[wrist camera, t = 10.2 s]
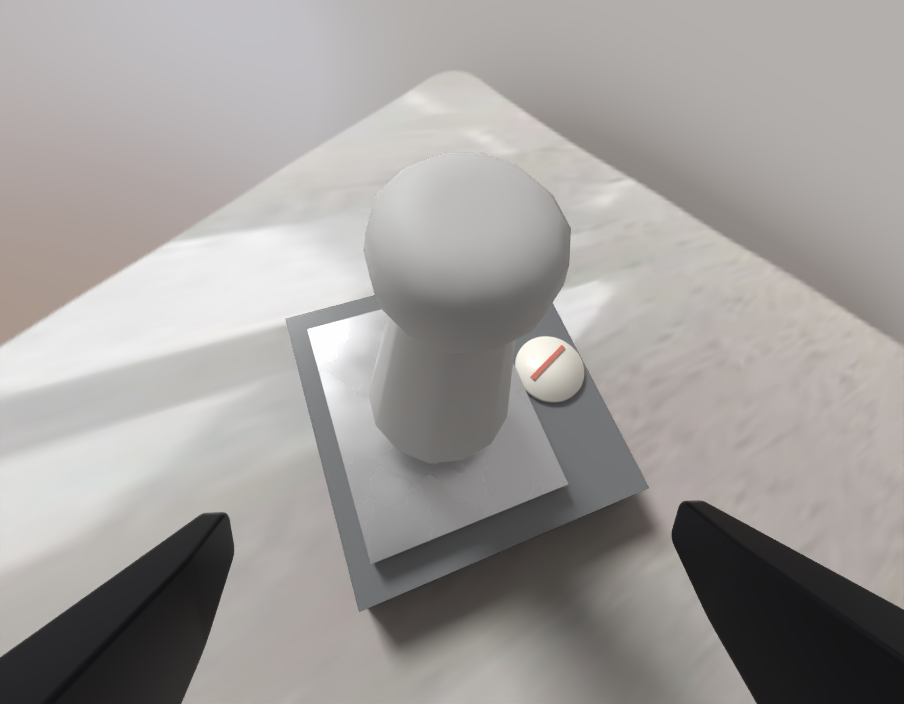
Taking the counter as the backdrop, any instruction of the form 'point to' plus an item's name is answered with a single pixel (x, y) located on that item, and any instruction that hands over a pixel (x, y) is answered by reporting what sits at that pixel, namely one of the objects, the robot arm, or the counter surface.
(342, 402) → the scale pan
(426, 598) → the counter surface
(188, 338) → the counter surface
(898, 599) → the counter surface
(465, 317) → the salt shaker
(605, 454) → the scale
